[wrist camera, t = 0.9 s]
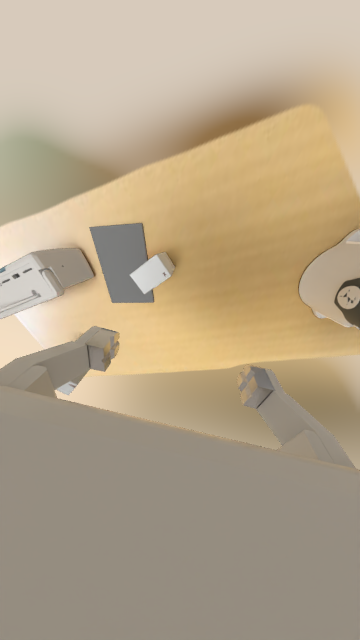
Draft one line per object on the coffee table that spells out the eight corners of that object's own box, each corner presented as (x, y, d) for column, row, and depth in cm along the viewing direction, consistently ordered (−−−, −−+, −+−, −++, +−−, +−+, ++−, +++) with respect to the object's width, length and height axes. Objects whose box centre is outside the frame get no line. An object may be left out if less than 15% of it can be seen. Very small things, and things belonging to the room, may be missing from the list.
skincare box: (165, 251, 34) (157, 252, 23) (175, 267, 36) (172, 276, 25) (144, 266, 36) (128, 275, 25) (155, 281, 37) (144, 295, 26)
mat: (142, 223, 32) (141, 223, 31) (154, 301, 41) (153, 302, 40) (91, 227, 33) (89, 227, 33) (113, 301, 42) (112, 302, 42)
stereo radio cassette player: (81, 245, 36) (-30, 254, 18) (101, 278, 39) (23, 312, 22) (23, 273, 41) (-104, 301, 24) (45, 300, 45) (-52, 340, 27)
